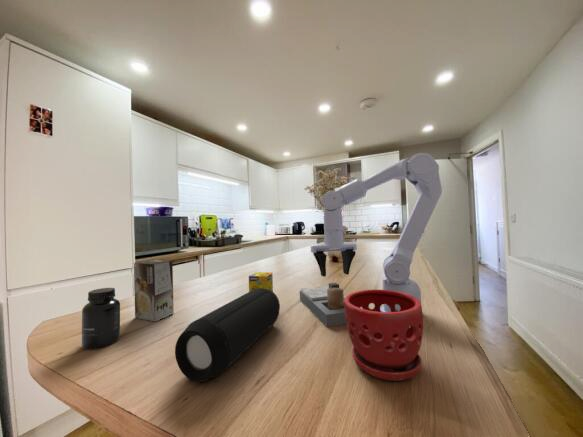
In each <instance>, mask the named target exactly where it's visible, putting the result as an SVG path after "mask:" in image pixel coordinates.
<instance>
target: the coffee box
mask: <svg viewBox="0 0 583 437" xmlns="http://www.w3.org/2000/svg"><path fill="white" fill-rule="evenodd" d="M173 268H174V267H173V260H165V259H149V260H145V261H139V262H134V263H133V280H134V282H133V284H134V287H133V288H134V289H133V290H134V319H140V320H145V321H151V322H158V321H161V320H162V318H163V319H165V318H167V317H169V315H170V316H172V315H174V314H175V312H174V304H175V303H174V276H173V275H174V274H173V273H174V271H173ZM173 313H174V314H173ZM171 314H172V315H171ZM160 319H161V320H160Z"/></svg>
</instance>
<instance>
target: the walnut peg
mask: <svg viewBox="0 0 583 437" xmlns="http://www.w3.org/2000/svg"><path fill="white" fill-rule="evenodd" d="M343 297H344V289H342V288H341V287H339V288H329V289H327V298H328V309H329V310H336V309H343V308H344V298H345V297H344V298H343Z"/></svg>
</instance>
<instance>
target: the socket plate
mask: <svg viewBox="0 0 583 437" xmlns="http://www.w3.org/2000/svg"><path fill="white" fill-rule="evenodd" d="M343 298H344V299H345V297H344V296H343ZM299 300H300V301H301V302H302V304H304V305H305V307H307V308H308V309H309V310H310V312H312V314H314V315H315V316H316V318H317V319H319V321H321V323H322V324H323V325H324V326H325V327H327V328H329V327H334V326H341V325H347V324H346V319H345V309H344V308H343V309H336V310H329V309H328V299H322V300H314V301H311V300H310V299H309V298H308V297H307V296H306V295H305V294H304V293H302V292H301V290H299Z"/></svg>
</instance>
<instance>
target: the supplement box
mask: <svg viewBox="0 0 583 437" xmlns="http://www.w3.org/2000/svg"><path fill="white" fill-rule="evenodd" d="M273 276H274V275H273V272H270V271H269V272H267V271H266V272H265V271H263V272H261V271H255V272H254V273H252V274H250V275H248V292H250V291H252V290H254V289H256V288H264V289H268V290H271V291H272V292H274V286H273V284H274V283H273Z"/></svg>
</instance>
